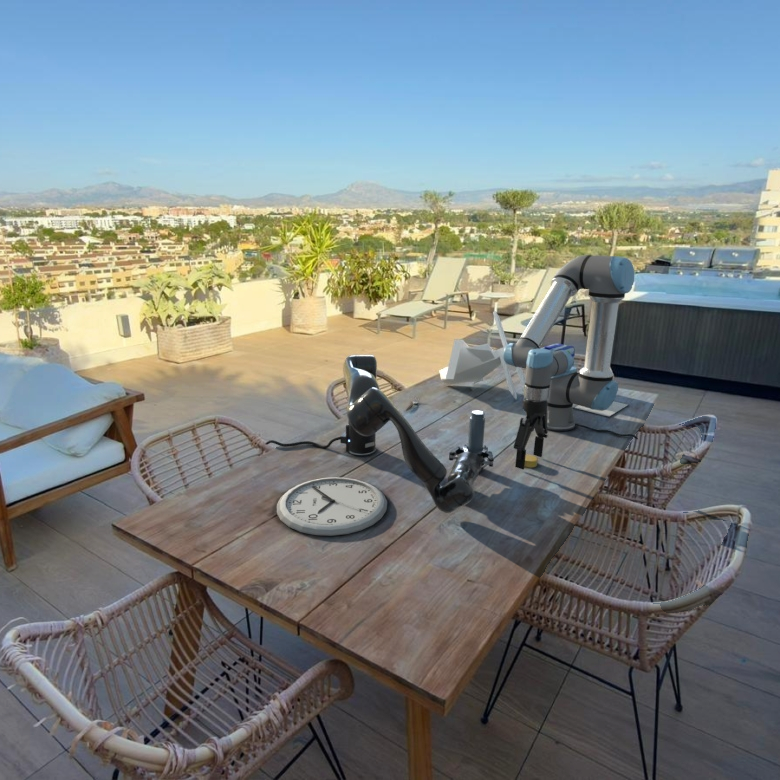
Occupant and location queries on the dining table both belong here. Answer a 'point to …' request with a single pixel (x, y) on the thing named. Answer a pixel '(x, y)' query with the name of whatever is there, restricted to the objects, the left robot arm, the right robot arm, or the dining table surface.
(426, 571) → the dining table surface
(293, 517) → the wall clock
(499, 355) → the white plastic object
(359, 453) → the left robot arm
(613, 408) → the invitation card
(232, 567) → the dining table surface
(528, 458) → the lid
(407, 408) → the fork
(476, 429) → the bottle
